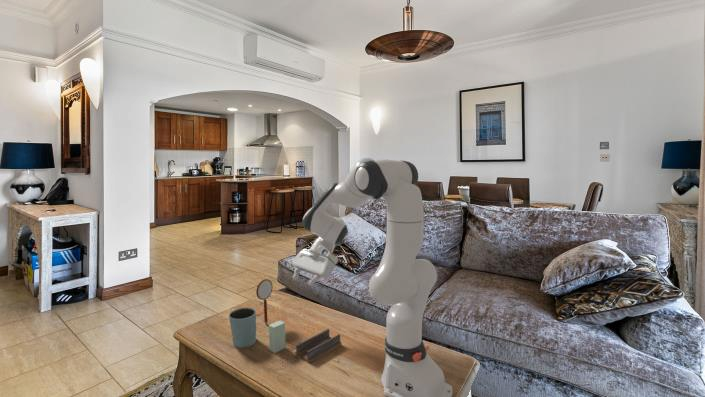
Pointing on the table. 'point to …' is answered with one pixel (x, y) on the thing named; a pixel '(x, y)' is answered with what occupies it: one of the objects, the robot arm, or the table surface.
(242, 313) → the blue-grey cylindrical cup
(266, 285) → the magnifying glass
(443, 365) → the table surface
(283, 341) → the pale green eraser block
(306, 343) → the track
